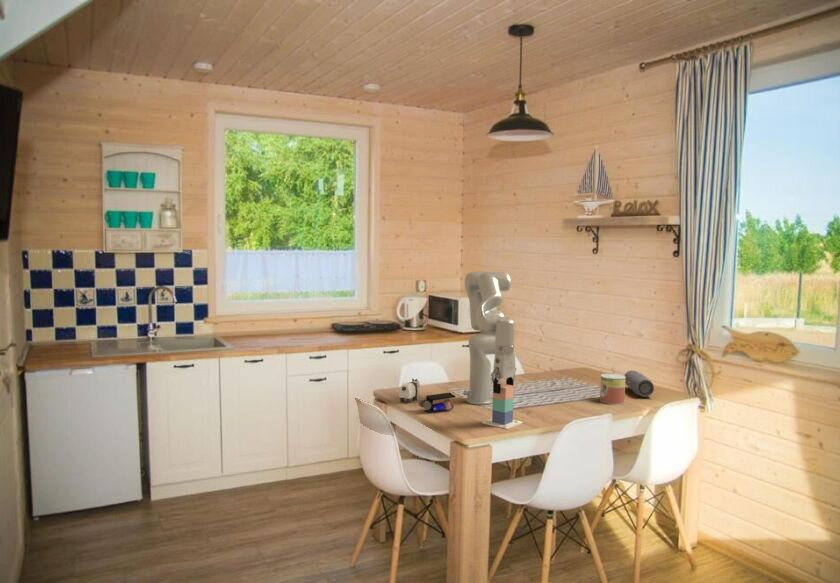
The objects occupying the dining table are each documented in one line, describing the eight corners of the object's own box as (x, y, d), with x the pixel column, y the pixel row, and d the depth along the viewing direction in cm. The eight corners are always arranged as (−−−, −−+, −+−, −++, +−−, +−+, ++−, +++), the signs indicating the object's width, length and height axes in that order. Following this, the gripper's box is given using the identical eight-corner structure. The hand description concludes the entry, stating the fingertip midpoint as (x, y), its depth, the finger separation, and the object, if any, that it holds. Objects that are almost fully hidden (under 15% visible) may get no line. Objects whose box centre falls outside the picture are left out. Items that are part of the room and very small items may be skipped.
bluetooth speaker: (622, 388, 336) (622, 369, 335) (640, 388, 336) (641, 369, 335) (635, 399, 313) (635, 378, 312) (654, 399, 313) (655, 378, 312)
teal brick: (492, 409, 267) (492, 397, 267) (500, 407, 271) (501, 395, 271) (504, 412, 263) (505, 400, 263) (512, 409, 268) (513, 397, 267)
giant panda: (408, 404, 296) (408, 383, 295) (397, 402, 298) (398, 382, 297) (423, 397, 308) (423, 377, 308) (413, 396, 311) (413, 376, 310)
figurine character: (425, 418, 279) (457, 411, 285) (423, 400, 278) (455, 393, 284) (419, 414, 285) (450, 407, 291) (417, 397, 284) (448, 390, 290)
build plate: (481, 423, 267) (482, 410, 266) (498, 417, 276) (498, 404, 276) (507, 429, 259) (507, 415, 259) (522, 422, 268) (523, 409, 268)
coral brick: (492, 397, 266) (493, 385, 266) (500, 395, 271) (501, 383, 271) (505, 400, 263) (505, 388, 262) (513, 397, 267) (513, 385, 267)
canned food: (594, 399, 311) (595, 374, 310) (615, 397, 315) (616, 373, 314) (608, 405, 301) (609, 379, 300) (629, 403, 304) (630, 378, 303)
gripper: (500, 353, 256) (499, 396, 258) (523, 348, 270) (522, 389, 271) (484, 350, 261) (483, 393, 262) (507, 345, 274) (506, 386, 276)
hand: (503, 391), depth 267 cm, fingers open, 9 cm apart
